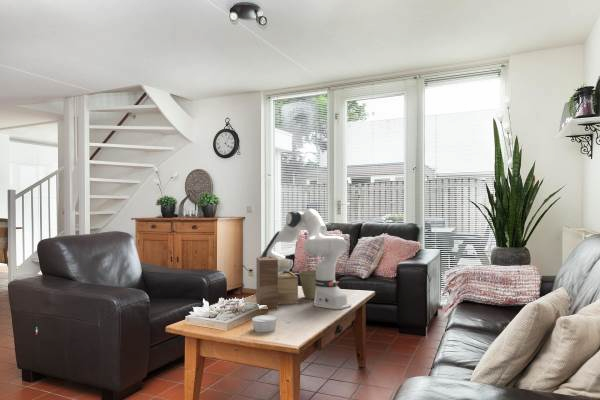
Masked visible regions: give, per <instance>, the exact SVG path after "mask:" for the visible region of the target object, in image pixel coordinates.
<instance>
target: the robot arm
mask: <svg viewBox="0 0 600 400" xmlns="http://www.w3.org/2000/svg"><path fill="white" fill-rule="evenodd" d="M285 221H286V222H285V224H284V226H283V228H282V229H281V230H279V231H276V233H275V234H274V235H273V237H272V238H271V240H270V242H269V243H268V244H267V246H266V248H265V249H264V250H263V251H262V252H261V254H260V257H261V256H262V257H269V256H271V257H275V258H276V257H282V258H283V259H288V258H287V256H286V255H284V254H280V252H276V251H274V250H273V249H274V247H276V246H275V245H276V244H277V243H292V242H294V241H296V240H297V239H298V237H299V235H300V232H301V230H303V231H304V230H305V231H306V230H307V232H308V238H306V239H305V241H304V243H303V249H304V251H305V253H306V254H307V255H310V256H323V259H322V260H321V261H319V262H318V263H317V264H316V266H315V270H316V279H315V285H316V290H315V297H314V299H313V302H312V304H313V307H319V308H324V309H331V310H343V309H347V308H350V307H352V304H351V303H349V302H348V298H347V295H346V293H345V292H344V291H343V290H342V289H341V288H340V287H339V286H338V283H339V282H340V281H337V280H336V266H337V262H338V260H339V258H340V257H341V256H342V254H344V253H345V251H346V249H347V241H346V239H345V238H344V237H343V236H339V235H326V234H327V229H328V228H327V226H326V224H325V221H324V219H323V217H322V216H321V215H320V214H319V212H318V211H317V210H316V209H313V208H308V209H306V210H305V211H296V210H292V211H289V212H288V213H287V215H286V219H285ZM293 265H294V261H293V259H290V267H289V268H280V267H279V265H278V274H285V273H289V271H290V270H291V269H292V268H293Z"/></svg>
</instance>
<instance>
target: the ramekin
mask: <svg viewBox="0 0 600 400" xmlns="http://www.w3.org/2000/svg"><path fill="white" fill-rule="evenodd" d="M251 322H252V327H253V330H254V331H255V332H257V333H271V332H273V331H274V330H275V329H276V325H277V324H276V323H277V317H276V316H275V315H268V314H262V315H256V316H254V317H252V318H251Z"/></svg>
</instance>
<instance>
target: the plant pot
mask: <svg viewBox="0 0 600 400" xmlns="http://www.w3.org/2000/svg"><path fill="white" fill-rule="evenodd" d="M298 273H299V281H300V285H301V286H300V287H301V289H302V293H303V296H304V298H305V299H308V300H314V297H315V290H316V285H315V279H316V269H315V270H314V269H313V270H312V269H308V270H307V269H305V270H300V271H298Z"/></svg>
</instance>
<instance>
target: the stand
mask: <svg viewBox="0 0 600 400" xmlns="http://www.w3.org/2000/svg"><path fill="white" fill-rule="evenodd" d="M298 303H299V277H298V276H297V275H296V274H294V273H293V272H292V271H290V270H289V271H288V272H284V273H281V274H278V260H277V259H276V258H275V257H271V256H269V257H262V256H261V255H260V256H257V257H256V305H257V304H259V305H267V307H268V310H267V311H269V310H270V311H273V310H279V308H278V307H279V305H286V304H298Z"/></svg>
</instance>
